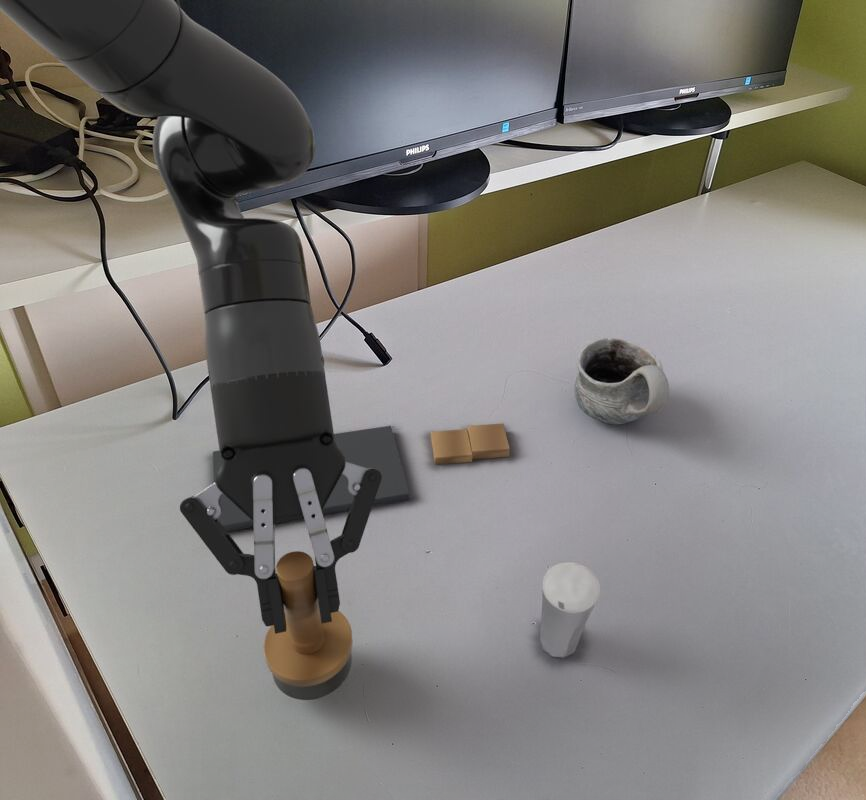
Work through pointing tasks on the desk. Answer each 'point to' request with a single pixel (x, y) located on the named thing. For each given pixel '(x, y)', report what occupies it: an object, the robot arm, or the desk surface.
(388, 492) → the tile
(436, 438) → the chip
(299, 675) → the brush
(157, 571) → the desk surface
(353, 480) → the robot arm
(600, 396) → the mug
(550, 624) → the milkshake
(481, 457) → the chip
